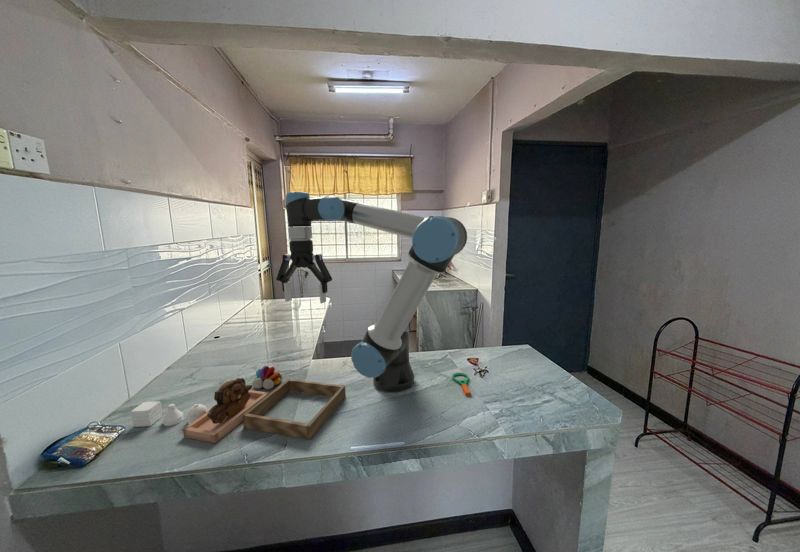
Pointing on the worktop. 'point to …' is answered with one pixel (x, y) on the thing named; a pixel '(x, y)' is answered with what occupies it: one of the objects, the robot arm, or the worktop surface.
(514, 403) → the worktop surface
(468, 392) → the magnifying glass
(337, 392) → the frame
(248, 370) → the worktop surface
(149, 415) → the container set
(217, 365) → the worktop surface
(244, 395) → the wooden carving
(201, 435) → the tray
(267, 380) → the rainbow ball cluster
